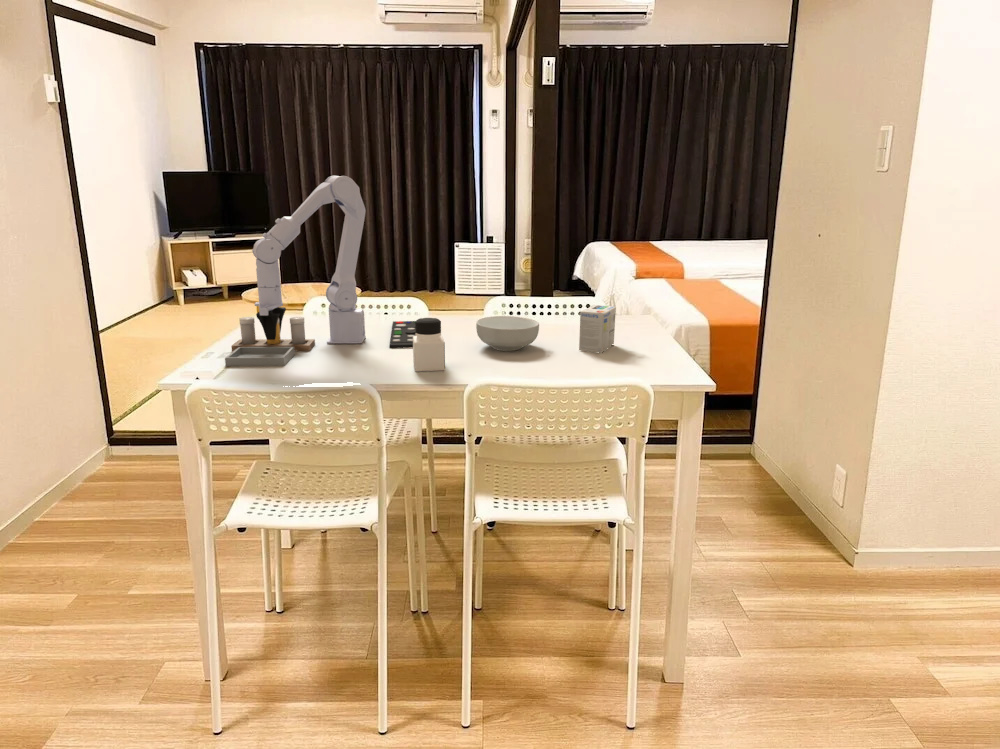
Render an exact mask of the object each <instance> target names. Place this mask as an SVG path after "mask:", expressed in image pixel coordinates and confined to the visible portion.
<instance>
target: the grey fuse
mask: <svg viewBox="0 0 1000 749" xmlns="http://www.w3.org/2000/svg"><path fill="white" fill-rule="evenodd" d="M289 324H290V334H291V339H292V344H306V342H305V339H306V332H305V317H303V316H302V317H301V316H294V317H290V318H289Z"/></svg>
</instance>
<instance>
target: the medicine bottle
mask: <svg viewBox="0 0 1000 749" xmlns="http://www.w3.org/2000/svg"><path fill="white" fill-rule="evenodd" d="M415 321H416V322H415V329H416V336H413V348H412V353H413V356H412V357H413V360H412V361H413V363H412V364H413V368H414V371H415V372H418V373H419V372H435V371H437V372H439V371H442V372H443V371H445V370H446V355H445V354H446V350H445V348H446V347H445V346H446V345H445V344H446V343H445V341H444V338H443V336H442V321H441V320H440V319H439V318H437V317H433V316H432V317H429V316H427V317H420V318H417V319H416V320H415Z"/></svg>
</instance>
